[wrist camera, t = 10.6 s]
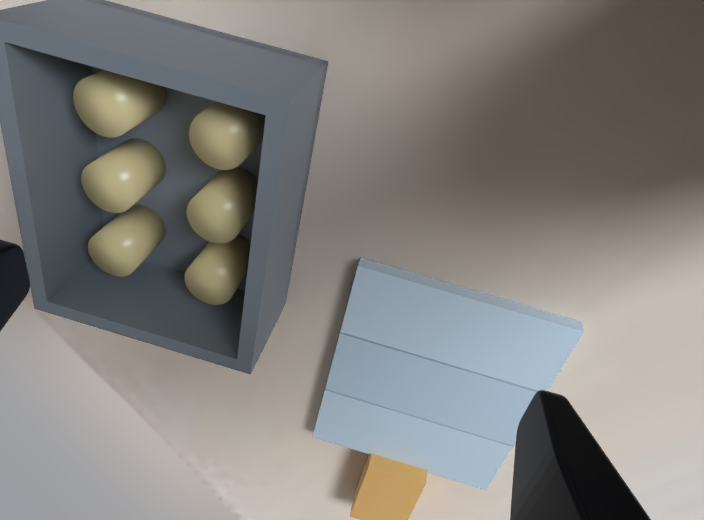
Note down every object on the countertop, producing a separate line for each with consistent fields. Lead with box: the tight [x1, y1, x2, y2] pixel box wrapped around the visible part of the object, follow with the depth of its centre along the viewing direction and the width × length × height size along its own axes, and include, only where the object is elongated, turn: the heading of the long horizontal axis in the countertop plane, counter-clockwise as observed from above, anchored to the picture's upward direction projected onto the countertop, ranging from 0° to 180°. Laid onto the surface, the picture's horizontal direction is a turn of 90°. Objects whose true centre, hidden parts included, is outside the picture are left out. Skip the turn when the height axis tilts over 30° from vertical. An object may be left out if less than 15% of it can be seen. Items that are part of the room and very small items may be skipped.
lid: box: [313, 258, 584, 520], centre depth 26 cm, size 9×16×2 cm, turn 168°
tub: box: [0, 0, 328, 374], centre depth 20 cm, size 9×11×4 cm
